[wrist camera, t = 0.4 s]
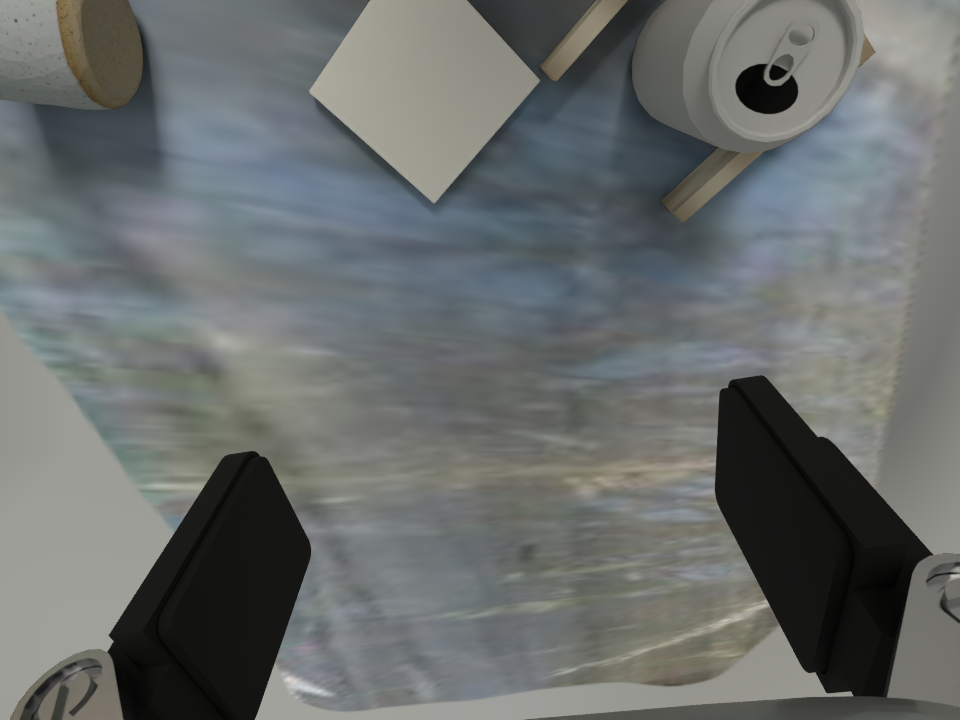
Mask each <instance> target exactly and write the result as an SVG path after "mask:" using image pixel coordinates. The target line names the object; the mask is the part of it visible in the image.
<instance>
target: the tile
mask: <svg viewBox="0 0 960 720" xmlns="http://www.w3.org/2000/svg"><path fill="white" fill-rule="evenodd" d="M539 82H540V80H539V79H538V77H537V76H536V75H535V74H534V73H533V72H532V71H531V70H530V69H529V68H528V67H527V65H526V64H525V63H524V62H523V61H522V60H521V59H520V58H519V57H518V56H517V54H516V53H515V52H514V51H513V50H512V49H511V48H510V47H509V46H508V45H507V43H506V42H505V41H504V40H503V39H502V38H501V37H500V36H499V35H498V34H497V33H496V31H495V30H494V29H493V28H492V27H491V26H490V25H489V24H488V23H487V22H486V20H485V19H484V18H483V17H482V16H481V15H480V14H479V13H478V12H477V11H476V10H475V8H474V7H473V6H472V5H471V4H470V3H469V2H468V1H467V0H370V1H369V3H368V4H367V6H366V7H365V9H364V10H363V12H362V13H361V15H360V16H359V18H358V19H357V21H356V22H355V24H354V25H353V27H352V28H351V30H350V31H349V33H348V34H347V36H346V37H345V39H344V40H343V42H342V43H341V45H340V46H339V48H338V49H337V50H336V52H335V53H334V55H333V56H332V58H331V59H330V61H329V62H328V64H327V65H326V67H325V68H324V70H323V71H322V73H321V74H320V76H319V77H318V79H317V80H316V82H315V83H314V85H313V86H312V88H311V89H310V91H309V92H310V93H311V94H312V95H313V96H314V97H315V98H316V99H317V100H318V101H320V102H321V103H322V104H323V105H324V106H325V107H326V108H327V109H329V110H330V111H331V112H332V113H333V114H334V115H335V116H336V117H338V118H339V119H340V120H341V121H342V122H343V123H344V124H345V125H346V126H348V127H349V128H350V129H351V130H352V131H353V132H354V133H355V134H357V135H358V136H359V137H360V138H361V139H362V140H363V141H364V142H365V143H367V144H368V145H369V146H370V147H371V148H372V149H373V150H374V151H376V152H377V153H378V154H379V155H380V156H381V157H382V158H383V159H384V160H386V161H387V162H388V163H389V164H390V165H391V166H392V167H393V168H395V169H396V170H397V171H398V172H399V173H400V174H401V175H402V176H404V177H405V178H406V179H407V180H408V181H409V182H410V183H411V184H412V185H414V186H415V187H416V188H417V189H418V190H419V191H420V192H421V193H423V194H424V195H425V196H426V197H427V198H428V199H429V200H430V201H431V202H433V203H435V202H436V201H437V200H438V199H439V198H440V196H441V195H442V194H443V193H444V192H445V191H446V189H447V188H448V187H449V186H450V185H451V184H452V182H453V181H454V180H455V179H456V178H457V177H458V176H459V174H460V173H461V172H462V171H463V170H464V169H465V167H466V166H467V165H468V164H469V163H470V162H471V160H472V159H473V158H474V157H475V156H476V155H477V154H478V152H479V151H480V150H481V149H482V148H483V147H484V145H485V144H486V143H487V142H488V141H489V140H490V138H491V137H492V136H493V135H494V134H495V133H496V132H497V130H498V129H499V128H500V127H501V126H502V125H503V123H504V122H505V121H506V120H507V119H508V118H509V117H510V115H511V114H512V113H513V112H514V111H515V110H516V108H517V107H518V106H519V105H520V104H521V103H522V101H523V100H524V99H525V98H526V97H527V96H528V95H529V93H530V92H531V91H532V90H533V89H534V88H535V86H536V85H537V84H538V83H539Z"/></svg>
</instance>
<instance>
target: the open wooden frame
mask: <svg viewBox="0 0 960 720" xmlns="http://www.w3.org/2000/svg"><path fill="white" fill-rule="evenodd" d="M627 1H628V0H596V1H595V2H594V3H593V4H592V5H591V7H590V8H589V9H588V10H587V11H586V12H585V14H584V15H583V16H582V17H581V18H580V19H579V21H578V22H577V23H576V24H575V25H574V27H573V28H572V29H571V30H570V31H569V32H568V34H567V35H566V36H565V37H564V38H563V39H562V41H561V42H560V43H559V44H558V45H557V46H556V48H555V49H554V50H553V51H552V52H551V53H550V55H549V56H548V57H547V58H546V59H545V61H544V62H543V63H542V64H541V65H540V66H539V67H540V68H541V69H542V71H543V72H544V73H545V74H546V75H547V76H548V77H549V78H550V79H551V80H553V81H555V82H557V80H558V79H559V78H560V77H561V76H562V75H563V74H564V72H565V71H566V70H567V69H568V68H569V67H570V66H571V64H572V63H573V62H574V61H575V60H576V59H577V58H578V56H579V55H580V54H581V53H582V52H583V51H584V50H585V48H586V47H587V46H588V45H589V44H590V43H591V42H592V41H593V39H594V38H595V37H596V36H597V35H598V34H599V33H600V31H601V30H602V29H603V28H604V27H605V26H606V25H607V23H608V22H609V21H610V20H611V19H612V18H613V17H614V15H615V14H616V13H617V12H618V11H619V10H620V9H621V8H622V6H623V5H624V4H625V3H626V2H627ZM874 53H875V51H874V49H873V47H872V46H871V44H870V42H869V41H868V39H867V38H866V36H865V34H864V42H863V47H862V53H861V59H860V64H859V66H858V67H860V66H861V65H862V64H863V63H864V62H865V61H866V60H867V59H869V58H870V57H871V56H872V55H873V54H874ZM763 152H764V151H760V152H754V153H748V154H747V153H741V152H735V151H729V150H723V149H721V148H719V147H718V148H717V149H716V150H715V151H714V152H713V153H712V154H711V155H709V156H708V157H707V158H706V159H705V160H704V161H703V162H702V163H701V164H700V165H699V166H698V167H697V168H695V169H694V170H693V171H692V172H691V173H690V174H689V175H688V176H687V177H686V178H685V179H684V180H683V181H681V182H680V183H679V184H678V185H677V186H676V187H675V188H674V189H673V190H672V191H671V192H670V193H668V194H667V195H666V196H665V197H664V198H663V199H662V200H661V202H662V203H663V205H664V206H665V207H666V208H667V209H668V210H669V211H670V212H671V213H672V214H673V215H674V216H676V217H677V218H678V219H679V220H680V221H681V222H682V223H684V222H685V221H686V220H687V219H688V218H690V217H691V216H692V215H693V214H694V213H695V212H696V211H697V210H699V209H700V208H701V207H702V206H703V205H704V204H705V203H706V202H708V201H709V200H710V199H711V198H712V197H713V196H714V195H715V194H717V193H718V192H719V191H720V190H721V189H722V188H723V187H724V186H726V185H727V184H728V183H729V182H730V181H731V180H732V179H734V178H735V177H736V176H737V175H738V174H739V173H740V172H741V171H743V170H744V169H745V168H746V167H747V166H748V165H749V164H750V163H752V162H753V161H754V160H755V159H756V158H757V157H758V156H759V155H761V154H762V153H763Z"/></svg>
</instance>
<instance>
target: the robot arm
mask: <svg viewBox="0 0 960 720" xmlns="http://www.w3.org/2000/svg"><path fill="white" fill-rule="evenodd" d="M715 494H716V499H717V503H718V505H719V508H720V510H721V512H722V514H723V516H724V518H725V519H726V521H727V523H728V525H729V527H730V529H731V531H732V533H733V535H734V537H735V539H736V541H737V543H738V545H739V547H740V548H741V550H742V552H743V554H744V556H745V558H746V560H747V562H748V564H749V566H750V568H751V570H752V572H753V574H754V576H755V578H756V579H757V581H758V583H759V585H760V587H761V589H762V591H763V593H764V595H765V597H766V599H767V601H768V603H769V605H770V607H771V608H772V610H773V612H774V614H775V616H776V618H777V620H778V622H779V624H780V626H781V628H782V630H783V632H784V634H785V635H786V637H787V639H788V641H789V643H790V645H791V647H792V649H793V651H794V653H795V655H796V657H797V658H798V660H799V662H800V664H801V666H802V667H803V669H804V670H805V671H806V672H808V673H813V672H816V674H817V676H818V678H819V680H820V682H821V684H822V685H823V687H824V689H825V691H826V693H836V692H848V691H851V692H852V694H853V696H852V697H806V698H791V699H777V700H761V701H747V702H732V703H718V704H702V705H690V706H680V707H667V708H657V709H656V708H655V709H644V710H632V711H620V712H608V713H596V714H585V715H574V716H561V717H549V718H538V719H528V720H960V554H952V553H943V554H937V555H933V554H932V553H931V552H930V551H929V550H928V549H927V548H926V546H925V545H924V544H923V543H922V542H921V541H920V540H919V538H918V537H917V536H916V535H915V534H914V533H913V532H912V531H911V530H910V528H909V527H908V526H907V525H906V524H905V523H904V522H903V520H902V519H900V517H899V516H898V515H897V514H896V513H895V512H894V510H893V509H892V508H891V507H890V506H889V505H888V504H887V503H886V501H885V500H884V499H883V498H882V497H881V496H880V495H879V494H878V493H877V491H876V490H875V489H874V488H873V487H872V486H871V485H870V484H869V482H868V481H867V480H866V479H865V478H864V477H863V476H862V475H861V473H860V472H859V471H858V470H857V469H856V468H855V467H854V466H853V465H852V463H851V462H850V461H849V460H848V459H847V458H846V457H845V456H844V454H843V453H842V452H841V451H840V450H839V449H838V448H837V447H836V446H835V444H833V443H832V442H831V441H830V440H829V439H827V438H824V437H817V436H816V435H815V433H814V432H813V431H812V430H811V429H810V428H809V427H808V425H807V424H806V423H805V422H804V421H803V420H802V418H801V417H800V416H799V415H798V414H797V413H796V412H795V410H794V409H793V408H792V407H791V406H790V405H789V403H788V402H787V401H786V400H785V399H784V398H783V397H782V395H781V394H780V393H779V392H778V391H777V390H776V388H775V387H774V386H773V385H772V384H771V383H770V382H769V380H768V379H767V378H766V377H764V376H761V375H760V376H754V377H747V378H740V379H734V380H731V381H730V383H729V385H728V388H724V389H721V391H720V395H719V415H718V436H717V456H716V477H715ZM310 557H311V546H310V542H309V540H308V538H307V536H306V534H305V532H304V530H303V528H302V526H301V524H300V522H299V520H298V518H297V516H296V514H295V512H294V510H293V508H292V506H291V504H290V502H289V500H288V498H287V496H286V494H285V492H284V490H283V488H282V487H281V485H280V483H279V481H278V479H277V477H276V475H275V473H274V471H273V469H272V467H271V465H270V463H269V461H268V460H267V458H265V457H260V455H259V454H258V453H257V452H255V451H249V452H243V453H236V454H229V455H226V456H225V457H224V458H223V459H222V460H221V462H220V463H219V465H218V466H217V468H216V469H215V471H214V472H213V474H212V476H211V477H210V479H209V480H208V482H207V483H206V485H205V486H204V488H203V490H202V491H201V493H200V494H199V496H198V497H197V499H196V500H195V502H194V504H193V505H192V507H191V508H190V510H189V511H188V513H187V514H186V516H185V518H184V519H183V521H182V522H181V524H180V525H179V527H178V528H177V530H176V532H175V533H174V535H173V536H172V538H171V539H170V541H169V543H168V544H167V546H166V547H165V549H164V551H163V552H162V554H161V555H160V557H159V558H158V560H157V561H156V563H155V564H154V566H153V567H152V569H151V570H150V572H149V574H148V575H147V577H146V578H145V580H144V581H143V583H142V584H141V586H140V588H139V589H138V591H137V592H136V594H135V595H134V597H133V598H132V600H131V602H130V603H129V605H128V606H127V608H126V610H125V611H124V612H123V614H122V616H121V617H120V619H119V621H118V622H117V624H116V625H115V627H114V628H113V630H112V631H111V633H110V634H109V636H110V638H111V639H112V640H113V641H114V642H113V644H112V645H111V647H110V649H109V650H108V652H105V651H103V650H101V649H97V650H86V651H83V652H80V653H77V654H74V655H72V656H70V657H69V658H67V659H65V660H63V661H61V662H59V663H58V664H57V665H55V666H54V667H53V668H51V669H50V670H49V671H47V672H46V673H45V674H43V675H42V676H41V677H40V678H39V679H38V680H37V681H36V682H35V683H34V684H33V685H32V686H31V687H30V688H29V689H28V691H27V692H26V693H25V695H24V696H23V697H22V699H21V700H20V701H19V702H18V704H17V706H16V708H15V710H14V712H13V714H12V716H11V718H10V720H255V717H256V715H257V713H258V710H259V707H260V704H261V701H262V698H263V695H264V692H265V689H266V686H267V684H268V681H269V677H270V675H271V672H272V669H273V666H274V663H275V660H276V657H277V654H278V651H279V648H280V646H281V643H282V640H283V637H284V634H285V631H286V628H287V625H288V622H289V619H290V616H291V613H292V611H293V608H294V605H295V602H296V599H297V596H298V593H299V590H300V587H301V584H302V581H303V578H304V575H305V573H306V570H307V567H308V564H309V561H310Z"/></svg>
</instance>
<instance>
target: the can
mask: <svg viewBox="0 0 960 720" xmlns="http://www.w3.org/2000/svg"><path fill="white" fill-rule="evenodd" d="M863 42H864V30H863V22H862V15H861V10H860V8H859V7H858V5H857V3H856V1H855V0H665V1H664V2H663V3H662V4H661V5H660V6H659V7H658V8H657V9H656V10H655V11H654V12H653V13H652V14H651V15H650V17H649V18H648V20H647V22H646V24H645V26H644V27H643V29H642V31H641V33H640V35H639V37H638V39H637V43H636V47H635V51H634V55H633V59H632V83H633V86H634V89H635V92H636V95H637V98H638V101H639V102H640V104H641V105H642V106H643V107H644V109H645V110H646V111H647V113H648V114H649V115H650V116H651V117H653V118H654V119H656V120H658V121H660V122H661V123H663V124H665V125H667V126H669V127H671V128H674V129H676V130H678V131H681V132H683V133H686V134H688V135H690V136H693V137H695V138H697V139H700V140H702V141H705V142H707V143H709V144H712V145H714V146H716V147H719V148H721V149H723V150H729V151H735V152H741V153H747V154H748V153H754V152H760V151H766V150H772V149H775V148H777V147H779V146H781V145H783V144H785V143H787V142H789V141H791V140H793V139H795V138H797V137H799V136H800V135H801V134H803V133H804V132H806V131H808V130H810V129H811V128H812V127H814V126H815V125H816V124H817V123H818V122H820V121H821V120H822V119H823V118H825V117H826V116H827V115H828V114H829V113H831V111H832V110H833V109H834V107H835V106H836V105H837V104H838V102H839V101H840V100H841V98H842V97H843V96H844V94H845V93H846V92H847V90H848V89H849V86H850V84H851V82H852V80H853V78H854V75H855V73H856V71H857V69H858V66H859V64H860V59H861V53H862V47H863Z"/></svg>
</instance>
